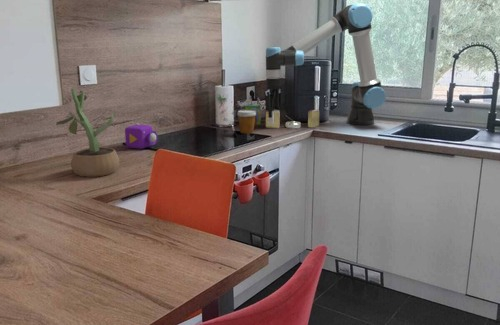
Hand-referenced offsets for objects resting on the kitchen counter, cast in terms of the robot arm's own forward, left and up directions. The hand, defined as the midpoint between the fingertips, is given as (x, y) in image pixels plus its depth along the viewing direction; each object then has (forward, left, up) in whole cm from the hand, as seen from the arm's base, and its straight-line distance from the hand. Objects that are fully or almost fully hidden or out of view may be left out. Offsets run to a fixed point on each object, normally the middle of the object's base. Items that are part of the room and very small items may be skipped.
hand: (273, 122), depth 250 cm
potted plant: (+80, +69, -4) cm, 106 cm away
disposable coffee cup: (+16, +11, -4) cm, 20 cm away
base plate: (-10, 0, -4) cm, 11 cm away
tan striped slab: (+1, 0, -2) cm, 3 cm away
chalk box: (+10, -15, -4) cm, 18 cm away
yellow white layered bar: (-21, 0, -2) cm, 22 cm away
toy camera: (+65, +32, -4) cm, 72 cm away
